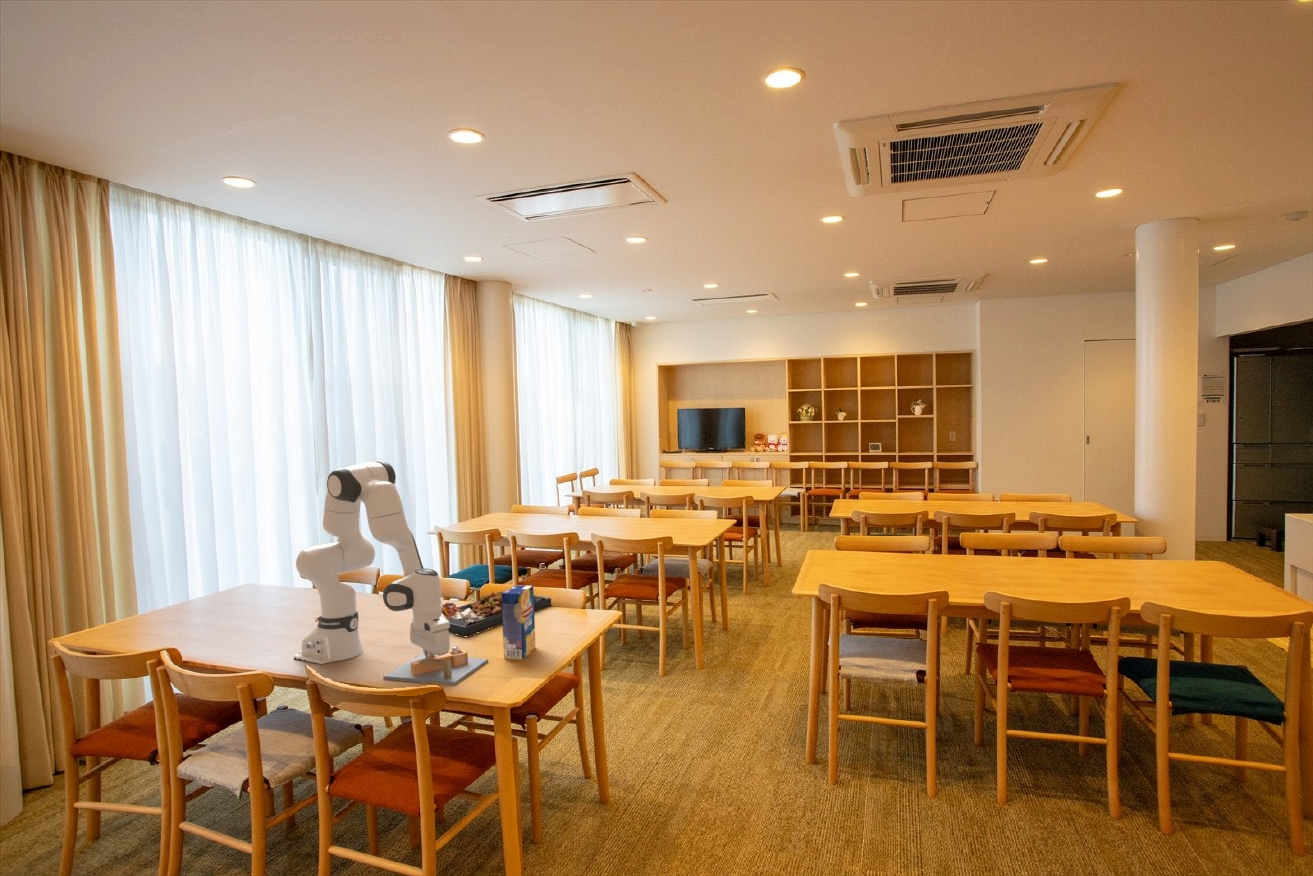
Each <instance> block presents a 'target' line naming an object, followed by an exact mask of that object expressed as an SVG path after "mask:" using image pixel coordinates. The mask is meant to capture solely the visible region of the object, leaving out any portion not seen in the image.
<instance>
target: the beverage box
mask: <svg viewBox="0 0 1313 876" xmlns="http://www.w3.org/2000/svg"><path fill="white" fill-rule="evenodd" d="M534 592H535V590H534V585H526V584H525V585H524V584H523V585H518V584H515V585H512V586H511V587H510V588H507V589H506V590H504V591H502V618H503V624H502V634H503V635H502V640H503V641H502V645H503V659H504V658H524V657H525V656H526V655H527V656H528V655H530V653H532V652H531V650H533V649H534V648H535V649H536V627H535V626H536V625H535V622H536V621H535V612H534V596H535V595H534ZM535 649H534V650H535ZM534 650H533V651H534ZM527 656H526V657H527ZM526 657H525V658H526ZM525 658H524V659H525Z"/></svg>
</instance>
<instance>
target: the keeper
mask: <svg viewBox="0 0 1313 876" xmlns="http://www.w3.org/2000/svg"><path fill="white" fill-rule="evenodd" d="M420 664H423V665H435V666H443V673H444V678H445V679H448V678H450V677H451V676H452V672H451V661H446V660H433V659H422V660H420Z"/></svg>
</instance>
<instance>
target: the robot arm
mask: <svg viewBox="0 0 1313 876" xmlns="http://www.w3.org/2000/svg"><path fill="white" fill-rule="evenodd" d="M396 477H397V475H396V472H395V469H394V467H393V466H392V465H391V464H390V463H389V462H387V461H386V462H385V461H375V462H364V463H363V462H362V463H358V464H355V465H351V466H346V467H340V468H337V469H334V470H333V471H331V472H330V473H329V474H328V476H327V481H326V487H327V491H326V495H325V500H324V506H323V507H324V510H323V516H322V517H323V519H322V528H323V530H324V531H325V532H326V533H327V534H328V535H331V536H333V537H336V538H337V540H336V541H335V542H331V543H325V544H319V545H313V546H310V547H307V548H305V549H302V550H301V551H300V552H299V554H298V555H297V557H296V560H295V567H296V570H297V572H298V574H299V575H300V576H301V577H302V578H304V579H306V580H308V581H309V582H311V584H313V585H314V587H315V588H316V590H317V592H318V595H319V601H320V609H321V612H320V613H321V615H320V616H319V617H316V618H315V620H314V622H315V623H316V622H317V626H316V627H315V628H314V629H313V630H312V631H310V633H308V634H307V635H305V636H304V638H303V640H302V643H301V649H300V650H299V651H298V652H296V653H295V654H294V656H293V658H296V659H295V660H299V659H301V660H300V661H304V660H305V661H304V662H310V663H315V664H319V665H323V664H324V665H325V664H329V663H333V662H340V661H344V660H345V661H346V660H349V659H353V658H356V657H358V656H360V655H361V654H363V653H364V647H363V645H362V641H361V638H360V632H359V611H358V610H357V609H358V608H357V593H356V590H355V588H354V587H353V586H351V585H350V584H347V583H344V582H341V581H340V576H339V575H342V574H348V573H352V572H359V571H360V570H363V569H366V568H368V567H370V566H371V565H372V564H373V563H374V560H375V558H376V551H375V550H376V549H375V547H374V545H373V544H372V543H371V541H369V540H368V539H366V538H365V537H364V536H363V535H362V533H361V531H360V513H361V503H363V504H364V506H365V512H366V516H367V517H366V519H367V522H368V524H367V525H368V528H369V531H370V533H371V536H372V537H373V538H374V539H375V540H376V541H378V542H380V543H382V544H385V545H388V546H391V547H392V548H394V549H395V551H396V552H397V555H398V558H399V560H400V564H401V567H402V571H403V576H402V578H399V579H396V580H395V581H392V582H391V583H389V584H387V586H385V588H384V590H383V593H382V599H383V600H382V601H383V603H384V606H385V607H387V609H389V610H390V611H391V612H392V611H393V612H400V611H402V612H403V611H406V610H412V614H413V615H412V616H413V617H412V621H411V623H410V627H409V640H410V643H411V644H412V645H415V646H417V647H419V648H421V649H422V652H423V654H424V655H425V659H426V658H430V657H434V656H435V655H438V656H441V655H444V654H447V653H448V652H449V651H450V643H451V641H450V640H451V638H450V632H449V631H448V628H450V622H449V621H448V620H447V619H446V618H445V616H444V614H443V613H442V608H443V606H442V604H441V603H442V601H441V599H442V586H441V585H442V584H441V579H440V575H439V573H438V572H437V571H436V570H434V569H431V568H424V566H423V563H422V559H421V556H420V553H419V549H418V546H417V542H416V540H415V538H414V535H413V533H412V531H411V529H410V528H409V525H408V522H407V519H406V517H405V512H404V511H405V510H404V507H403V503H402V502H403V501H402V499H401V495H400V494H399V491H398V489H397V487H396V485H395V484H396ZM440 601H441V602H440Z"/></svg>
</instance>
